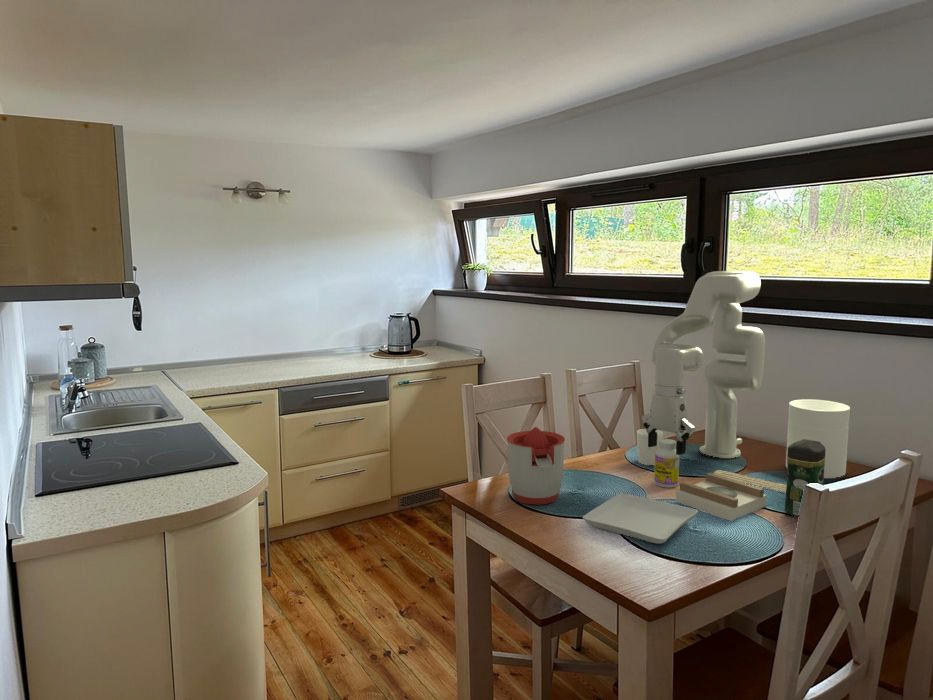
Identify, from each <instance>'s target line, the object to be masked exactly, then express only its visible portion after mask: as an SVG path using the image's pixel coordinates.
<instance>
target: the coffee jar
mask: <svg viewBox="0 0 933 700" xmlns="http://www.w3.org/2000/svg"><path fill="white" fill-rule="evenodd" d="M824 466H825V447H824V445H822V444H821V443H820V442H819V441H813V440H807V439H803V440H801V441H797V442H795V443H793V444H791V445H790V446H789V447H788V453H787V468H786V483H785V485H786V494H785V500H784V511H785V513H786V514H788V515H790V516H792V517H794V518H796V519H799V518H798V514H799V508H800V503H801V499H802V495H803V489H804V486H805V485H806V484H809V483H819V484H823V485H825V484H824V482H825V481H824V480H825V478H824Z"/></svg>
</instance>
